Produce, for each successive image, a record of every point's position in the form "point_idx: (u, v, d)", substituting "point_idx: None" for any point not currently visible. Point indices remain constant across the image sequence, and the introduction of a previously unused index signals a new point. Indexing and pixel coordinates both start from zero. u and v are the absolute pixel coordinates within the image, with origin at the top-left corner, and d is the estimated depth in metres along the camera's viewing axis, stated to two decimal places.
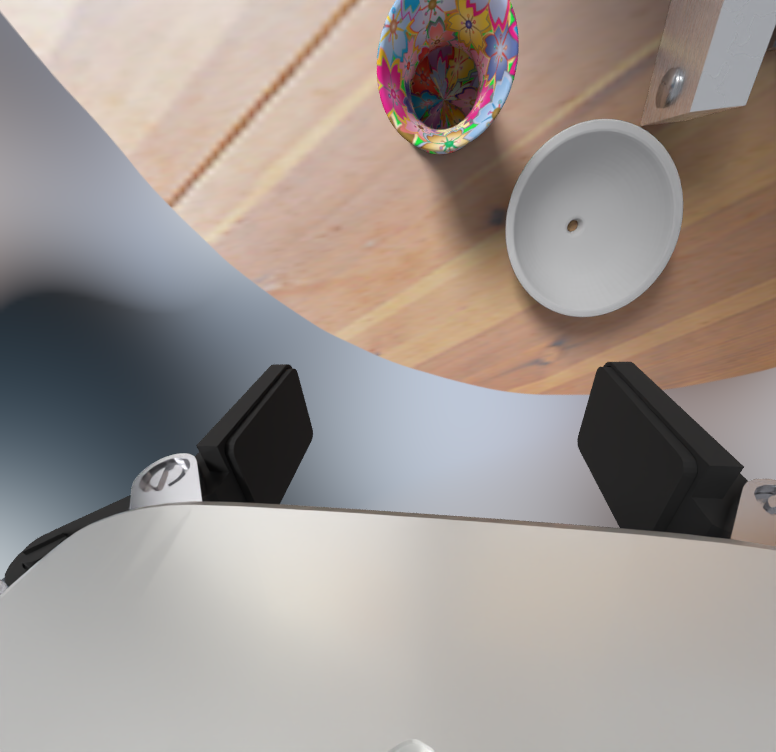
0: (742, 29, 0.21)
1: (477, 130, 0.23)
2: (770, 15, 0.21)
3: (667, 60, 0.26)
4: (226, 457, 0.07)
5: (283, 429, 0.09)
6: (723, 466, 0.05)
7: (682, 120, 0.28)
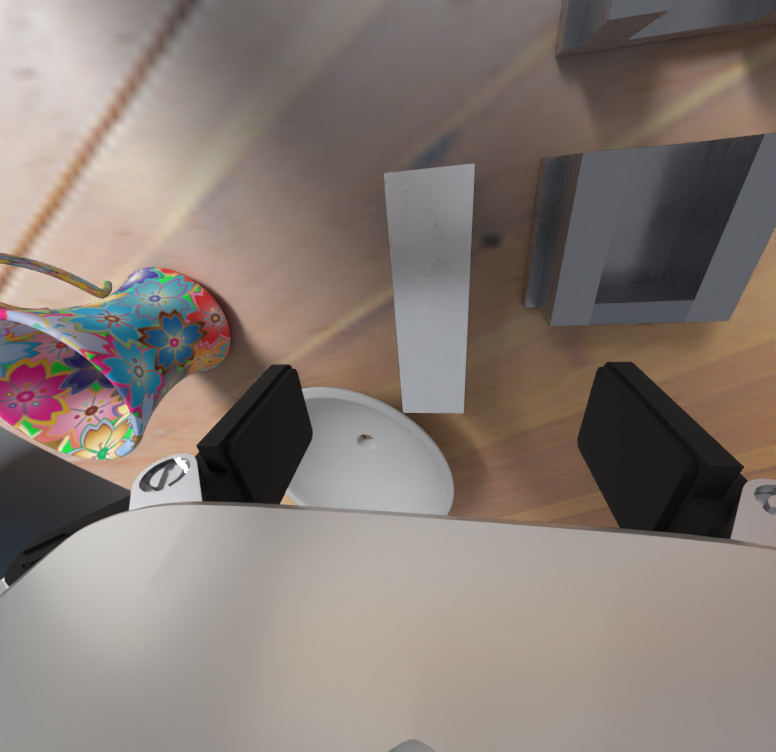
0: (429, 350, 0.16)
1: (125, 449, 0.18)
2: (456, 341, 0.16)
3: None
4: (226, 457, 0.07)
5: (283, 429, 0.09)
6: (723, 466, 0.05)
7: None
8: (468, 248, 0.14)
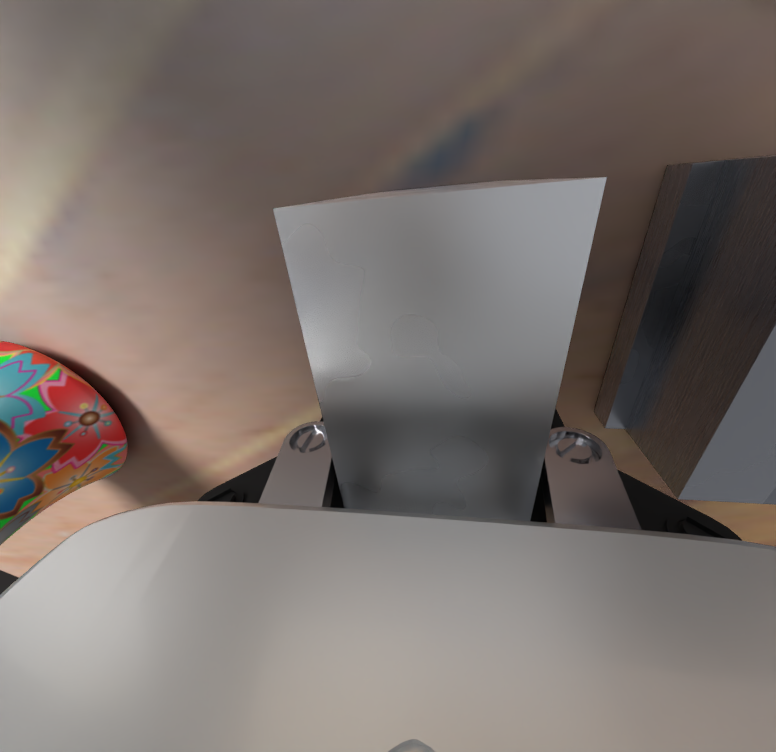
0: None
1: None
2: None
3: None
4: None
5: None
6: None
7: None
8: (543, 422, 0.05)
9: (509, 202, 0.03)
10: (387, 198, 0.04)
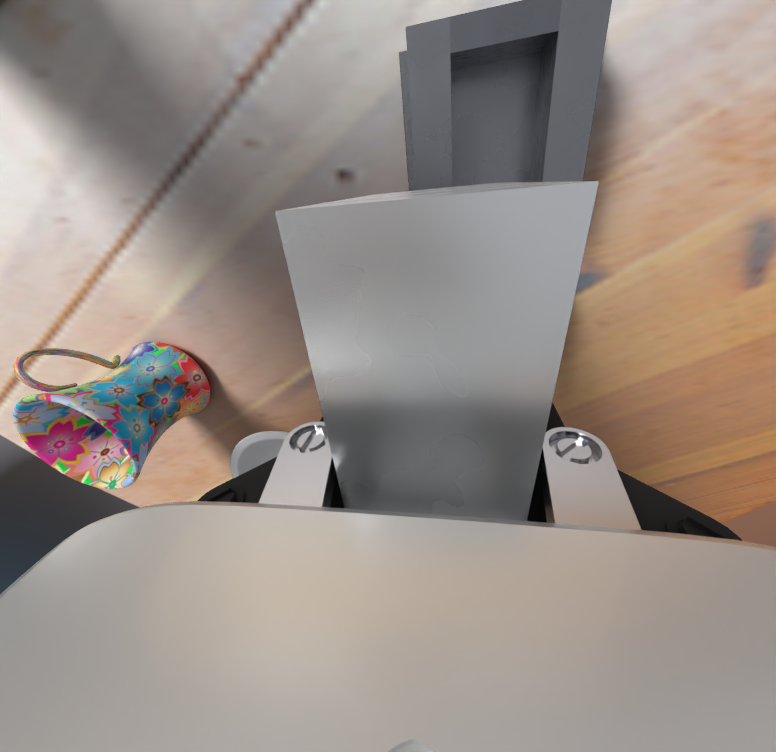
0: None
1: (128, 481, 0.25)
2: None
3: None
4: None
5: None
6: None
7: None
8: (539, 420, 0.05)
9: (504, 205, 0.03)
10: (386, 201, 0.04)
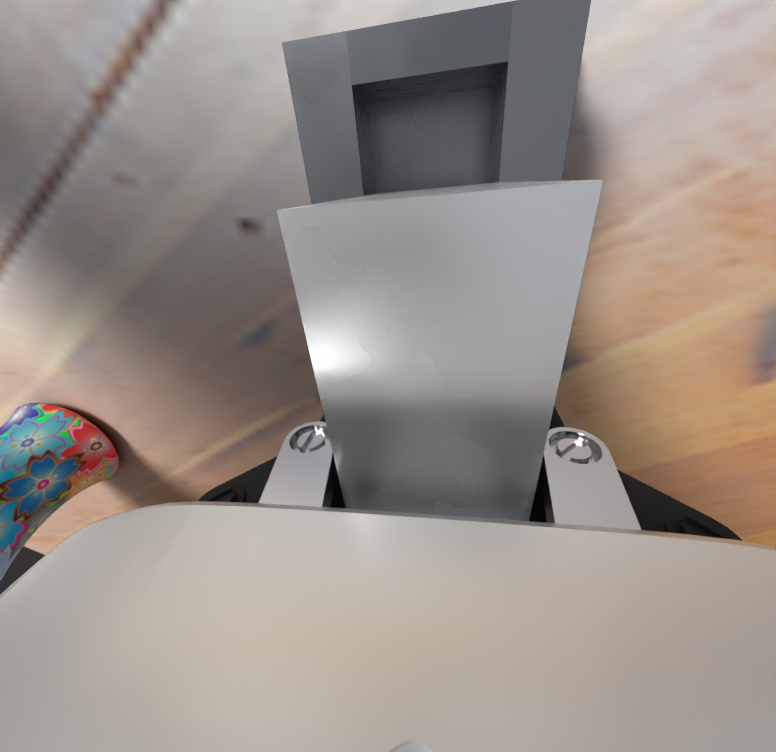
0: None
1: None
2: None
3: None
4: None
5: None
6: None
7: None
8: (542, 420, 0.05)
9: (508, 204, 0.03)
10: (388, 200, 0.04)
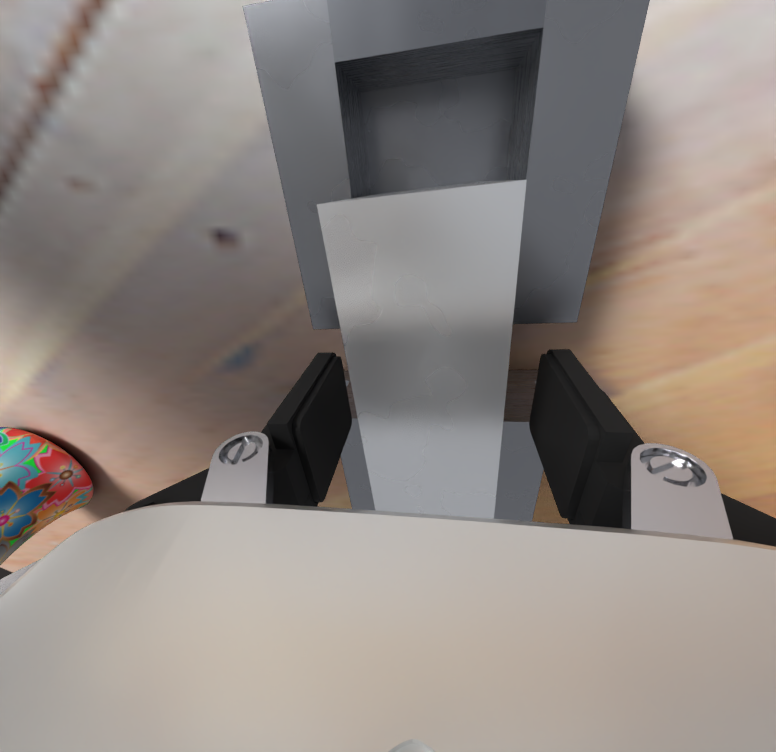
0: (428, 504, 0.09)
1: None
2: (477, 495, 0.09)
3: None
4: (292, 435, 0.08)
5: (332, 413, 0.10)
6: (618, 432, 0.06)
7: None
8: (504, 352, 0.07)
9: (468, 196, 0.05)
10: (391, 196, 0.05)
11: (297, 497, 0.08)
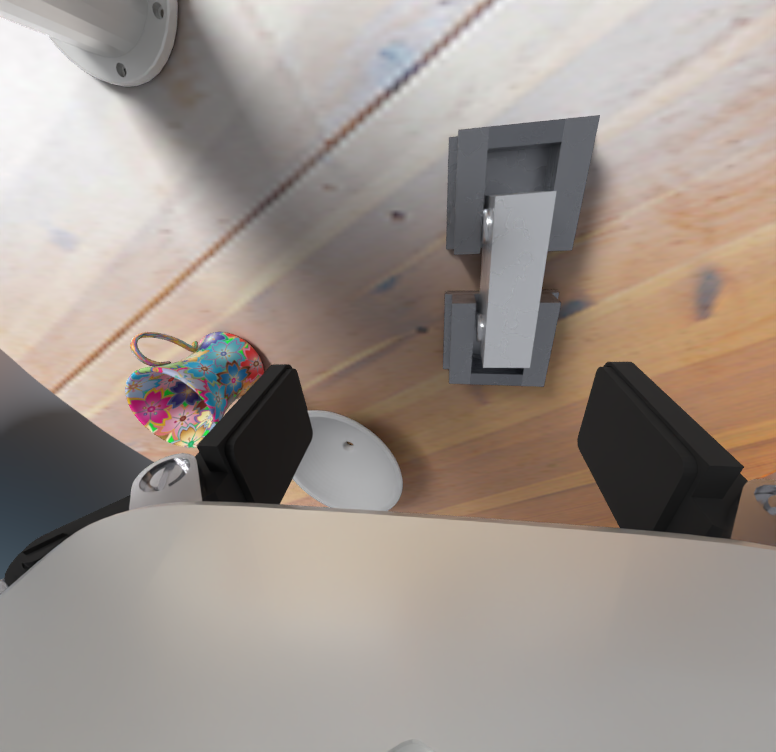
0: (510, 318, 0.23)
1: None
2: (530, 311, 0.23)
3: (481, 300, 0.28)
4: (226, 457, 0.07)
5: (283, 429, 0.09)
6: (723, 466, 0.05)
7: None
8: (546, 245, 0.21)
9: (540, 195, 0.19)
10: (518, 194, 0.20)
11: None
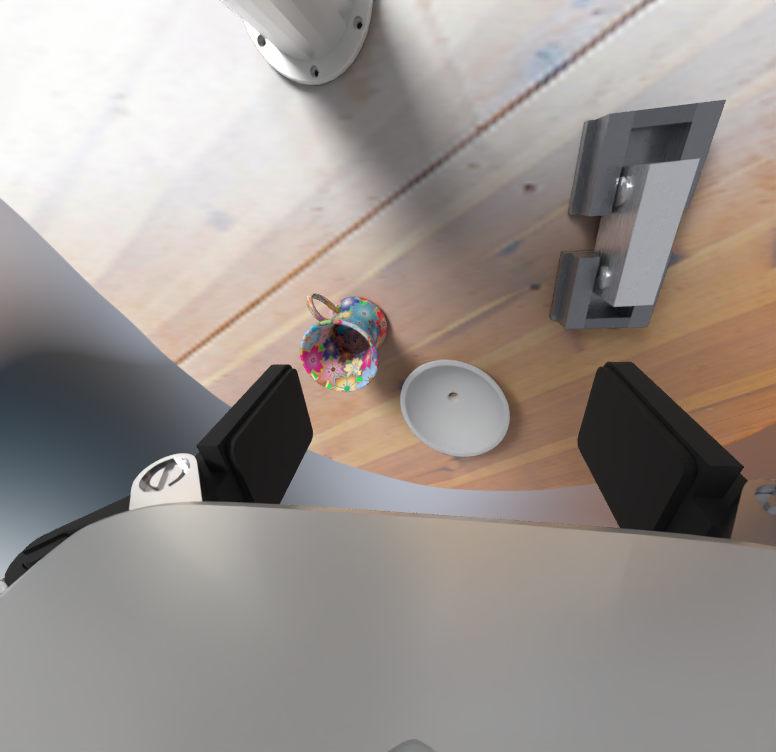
0: (644, 263, 0.30)
1: (362, 385, 0.38)
2: (662, 256, 0.29)
3: (601, 255, 0.34)
4: (226, 457, 0.07)
5: (283, 429, 0.09)
6: (723, 466, 0.05)
7: None
8: (684, 201, 0.27)
9: (686, 162, 0.26)
10: (668, 162, 0.26)
11: None
